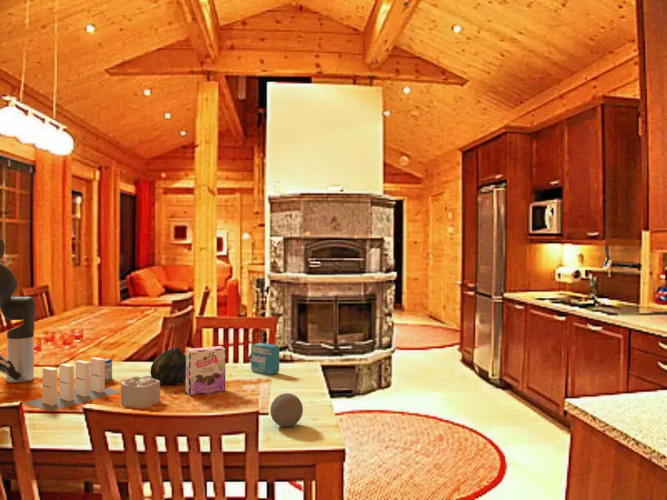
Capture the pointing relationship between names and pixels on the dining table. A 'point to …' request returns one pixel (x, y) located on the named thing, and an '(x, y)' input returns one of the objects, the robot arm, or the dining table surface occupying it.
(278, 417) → the decorative ball
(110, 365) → the medicine box
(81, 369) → the domino
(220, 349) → the candy box
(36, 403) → the mat
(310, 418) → the dining table surface
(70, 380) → the domino
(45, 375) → the domino
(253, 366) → the data package
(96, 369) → the domino
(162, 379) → the squash
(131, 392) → the lumpy-topped squat cylinder
